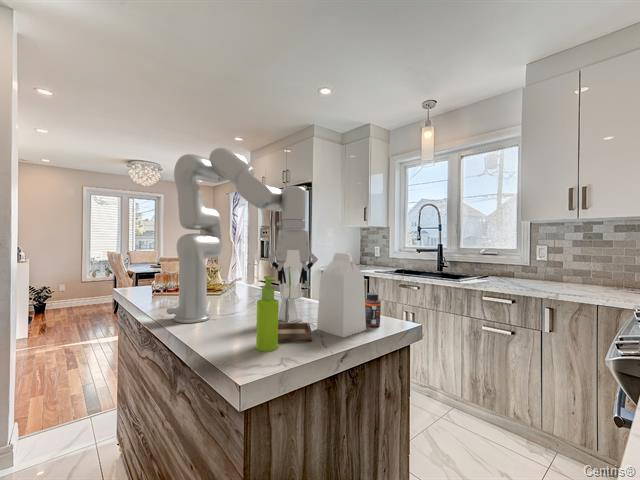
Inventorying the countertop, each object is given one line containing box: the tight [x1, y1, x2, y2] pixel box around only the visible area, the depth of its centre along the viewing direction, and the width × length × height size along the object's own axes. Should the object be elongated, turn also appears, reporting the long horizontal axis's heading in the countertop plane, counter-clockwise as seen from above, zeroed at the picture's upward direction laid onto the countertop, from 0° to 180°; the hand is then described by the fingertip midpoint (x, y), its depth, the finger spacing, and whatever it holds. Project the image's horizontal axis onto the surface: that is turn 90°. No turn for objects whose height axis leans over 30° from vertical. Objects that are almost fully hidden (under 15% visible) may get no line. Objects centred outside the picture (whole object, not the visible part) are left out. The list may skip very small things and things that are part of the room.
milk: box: [316, 252, 367, 338], centre depth 108 cm, size 12×12×26 cm
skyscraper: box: [278, 279, 302, 323], centre depth 118 cm, size 8×8×28 cm
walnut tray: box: [278, 322, 313, 343], centre depth 100 cm, size 12×12×2 cm
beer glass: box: [282, 250, 304, 300], centre depth 100 cm, size 7×7×15 cm
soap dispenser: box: [255, 275, 280, 352], centre depth 88 cm, size 6×7×20 cm
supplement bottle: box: [365, 292, 382, 328], centre depth 114 cm, size 6×6×11 cm
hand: (292, 282), depth 100 cm, fingers closed on beer glass, 6 cm apart
